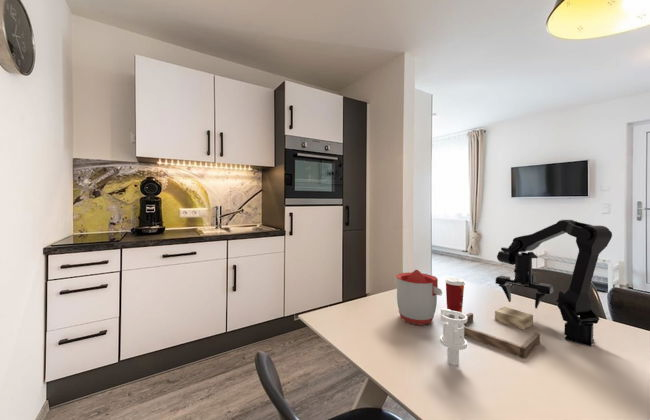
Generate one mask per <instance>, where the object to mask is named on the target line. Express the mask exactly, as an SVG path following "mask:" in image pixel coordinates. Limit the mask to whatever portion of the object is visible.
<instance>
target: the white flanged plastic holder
mask: <svg viewBox="0 0 650 420" xmlns="http://www.w3.org/2000/svg"><path fill="white" fill-rule="evenodd" d="M446 315H447V316H446ZM449 315H452V316H454V318H452V317H451V318H450V317H448V316H449ZM466 315H467V314H465V313H463V312H462V313H461V312H457V311H452V310H450V309H447V308H444V307H441V308H440V321H441V322H443V323H442V324H443V325H442V334H441V335H440V337H439V339H440V340H439V341H440V344H441V345H442V346H444V347H446V348H447V350H446V351H447V358H446V359H447V363H448V364H450V365H451V366H458V365H459V364H460V351H461V350H466V349H467V348H468V341H467V339H465V336H464V325H463V324H465V323H467V316H466ZM461 317H462V318H464V319H459V318H461Z"/></svg>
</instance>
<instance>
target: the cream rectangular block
mask: <svg viewBox="0 0 650 420" xmlns="http://www.w3.org/2000/svg"><path fill="white" fill-rule="evenodd" d="M497 320H498V321H497ZM494 321H497V322H500V321H501V322H500V323H503V322H504V324H506V323H507V324H506V325H509V326H512V327H516V328H519V329H521V330H525V329H528V328H529V327H531V326H533V324H534V314H532V313H528V312H525V311H522V310H518V309H515V308H511V307H508V306H503V307H500V308H498V309H496V310H495V311H494Z"/></svg>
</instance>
